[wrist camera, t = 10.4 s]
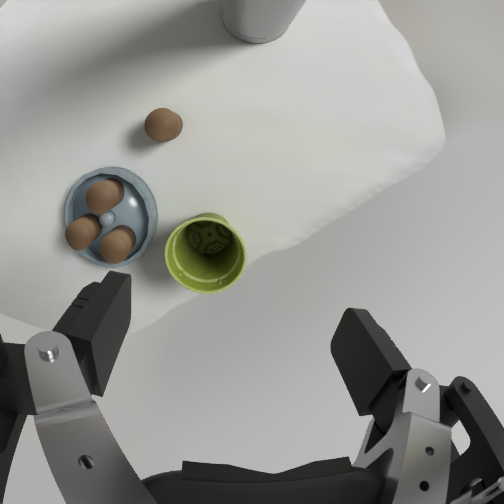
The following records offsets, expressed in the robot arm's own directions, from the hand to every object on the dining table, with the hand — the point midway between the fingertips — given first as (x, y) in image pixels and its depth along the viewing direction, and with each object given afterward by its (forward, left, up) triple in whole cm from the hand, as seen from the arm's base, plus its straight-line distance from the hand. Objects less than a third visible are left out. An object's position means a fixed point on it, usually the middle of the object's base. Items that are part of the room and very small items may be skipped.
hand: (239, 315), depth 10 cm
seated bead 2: (+10, -14, -29) cm, 33 cm away
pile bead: (-7, -9, -30) cm, 32 cm away
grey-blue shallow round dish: (+7, -16, -30) cm, 34 cm away
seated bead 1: (+9, -19, -29) cm, 35 cm away
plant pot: (+7, -1, -30) cm, 31 cm away
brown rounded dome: (+3, -16, -29) cm, 33 cm away
